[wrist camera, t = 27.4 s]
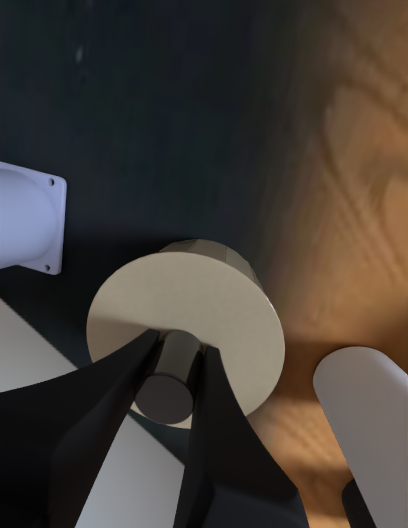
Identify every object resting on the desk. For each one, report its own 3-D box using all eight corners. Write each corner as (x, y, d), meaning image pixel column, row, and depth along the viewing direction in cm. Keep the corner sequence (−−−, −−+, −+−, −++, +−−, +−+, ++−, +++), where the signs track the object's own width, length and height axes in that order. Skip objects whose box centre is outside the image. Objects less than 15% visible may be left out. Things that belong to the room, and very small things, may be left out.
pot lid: (106, 402, 15) (58, 476, 11) (87, 243, 12) (13, 262, 8) (270, 422, 14) (287, 515, 10) (291, 252, 11) (329, 279, 7)
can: (333, 331, 17) (534, 575, 6) (411, 360, 17) (773, 668, 6) (297, 391, 19) (398, 668, 8) (367, 418, 19) (578, 742, 8)
